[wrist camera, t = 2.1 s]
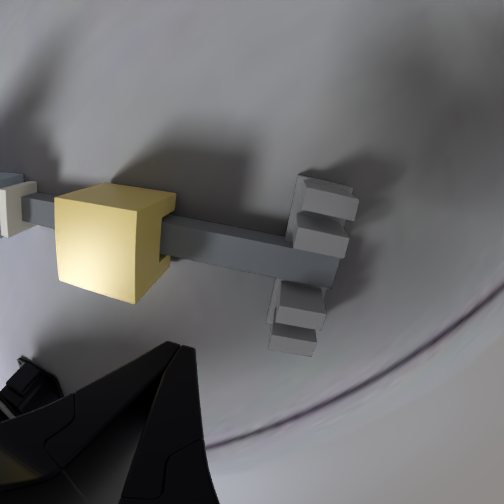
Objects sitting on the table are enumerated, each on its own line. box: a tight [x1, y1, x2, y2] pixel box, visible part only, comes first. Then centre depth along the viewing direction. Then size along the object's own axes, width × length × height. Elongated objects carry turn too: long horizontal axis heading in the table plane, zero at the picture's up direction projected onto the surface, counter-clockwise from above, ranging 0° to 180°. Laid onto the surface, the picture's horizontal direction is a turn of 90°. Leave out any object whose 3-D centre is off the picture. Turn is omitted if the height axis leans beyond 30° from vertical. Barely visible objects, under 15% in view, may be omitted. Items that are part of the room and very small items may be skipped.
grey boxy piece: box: [266, 175, 359, 357], centre depth 16 cm, size 3×9×4 cm, turn 170°
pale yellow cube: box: [54, 183, 176, 304], centre depth 15 cm, size 5×5×5 cm
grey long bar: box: [0, 172, 340, 289], centre depth 16 cm, size 28×4×4 cm, turn 80°
